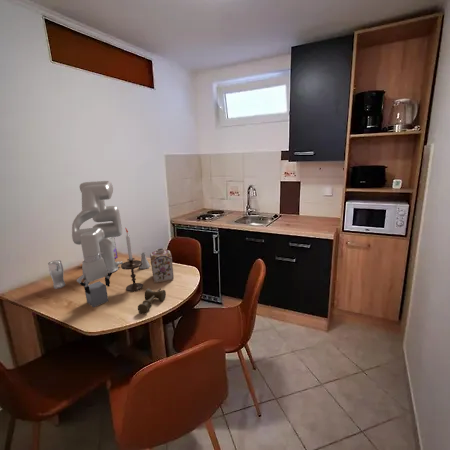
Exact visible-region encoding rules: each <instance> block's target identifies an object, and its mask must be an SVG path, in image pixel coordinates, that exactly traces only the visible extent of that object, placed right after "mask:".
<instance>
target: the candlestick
mask: <svg viewBox="0 0 450 450" xmlns="http://www.w3.org/2000/svg"><path fill="white" fill-rule="evenodd" d="M125 232H126V235H125V240H126V246H127V247H126V248H127V254H128V258H127V259H126V261H125V262H123V264H120V269H122V270H128V271H129V270H131V271H130V272H131V274H130V278H131V282H132V283H131V284H128V285H127V286H126V287H125V288H126V289H125V290H126V291H127V292H130V293H133V292H134V291H135V292H138V290H139V291H141V290H142V289H144V285H143V283H142V282H136V280H137V279H136V276H137V274H135V271H134V270H135V269H137V268H139V267H140V266H141V265H142V262H141V260H139V259H138V260H137V259H136V258H135V257H133V251H132V250H133V249H132V245H131V244H132V243H131V237H130V235H129V233H128V232H129V231H128V229H127V228H126V227H125ZM140 289H141V290H140ZM135 292H134V293H135Z"/></svg>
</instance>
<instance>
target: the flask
mask: <svg viewBox="0 0 450 450" xmlns="http://www.w3.org/2000/svg"><path fill="white" fill-rule="evenodd" d="M146 254H147V253H146V252H140V255H141V257H140V261H141V262H142V265H141V266H140V267H138V268H139V270H145V269H146V268H147V269H149V268H150V267H151V264H150V263H149V261H148V259H147V256H146Z"/></svg>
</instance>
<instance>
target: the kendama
mask: <svg viewBox="0 0 450 450" xmlns="http://www.w3.org/2000/svg"><path fill="white" fill-rule="evenodd" d="M166 294H167V292H166V290H165V289H162V287H161V288H159V289H158V290H157V291H154V290H152V289H151V288H149V287H147V288H146V289H145V291H144V300H143V301H142V302H141V303H140V304H139V305H138V306H137V310H138V312H139V314H142V313H143V315H146V314H147V313H148V312H149V309H150V308H152V303H153V301H154V300H155V299H158V300H159V301H160V302H164V301H165V299H166V297H167V296H166ZM163 300H164V301H163ZM145 313H146V314H145Z"/></svg>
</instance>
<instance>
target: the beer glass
mask: <svg viewBox="0 0 450 450" xmlns="http://www.w3.org/2000/svg"><path fill="white" fill-rule="evenodd" d="M47 266H48V267H47V268H48V272H49V275H50V277H51V279H52V282H53V283H52V284H53V289H55V290H56V289H57V290H59V289H62V288H65V287H66V283H65V280H64V279H65V278H64V266H63V263H62V260H60V259H57V260H52V261H50V262H48V263H47Z"/></svg>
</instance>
